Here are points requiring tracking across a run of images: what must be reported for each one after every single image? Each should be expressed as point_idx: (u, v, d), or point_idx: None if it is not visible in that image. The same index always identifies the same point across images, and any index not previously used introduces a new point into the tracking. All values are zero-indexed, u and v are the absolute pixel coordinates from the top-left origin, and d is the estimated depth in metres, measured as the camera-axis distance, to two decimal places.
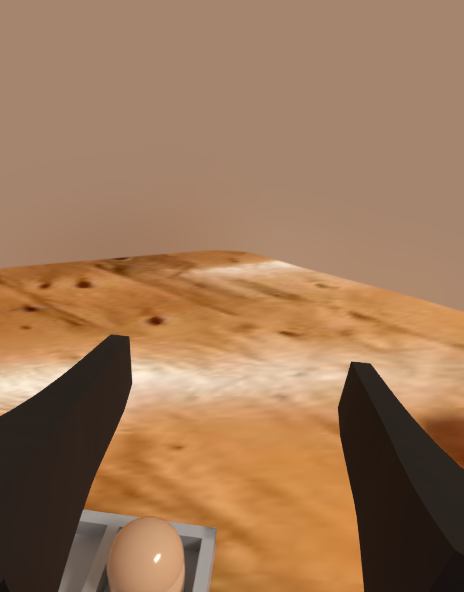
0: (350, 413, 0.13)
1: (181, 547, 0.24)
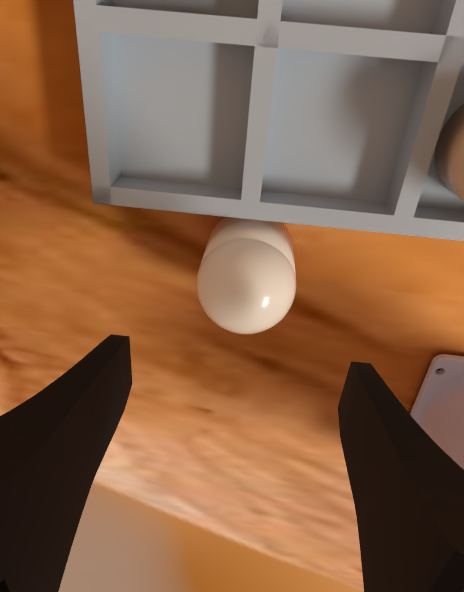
0: (350, 413, 0.13)
1: None
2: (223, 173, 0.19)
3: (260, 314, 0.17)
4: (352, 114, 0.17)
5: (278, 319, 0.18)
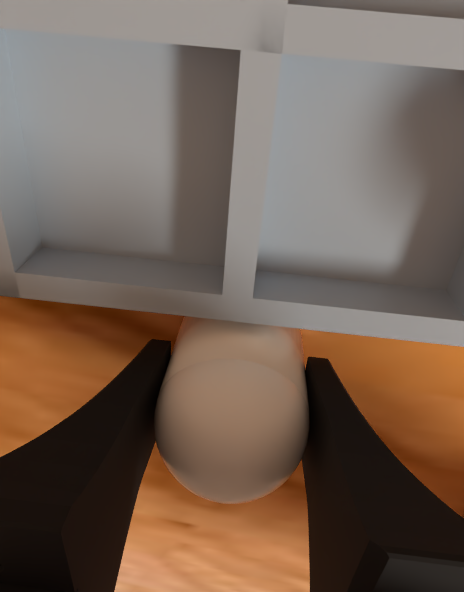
0: None
1: None
2: (196, 245, 0.12)
3: (252, 490, 0.10)
4: (403, 160, 0.11)
5: (281, 484, 0.11)
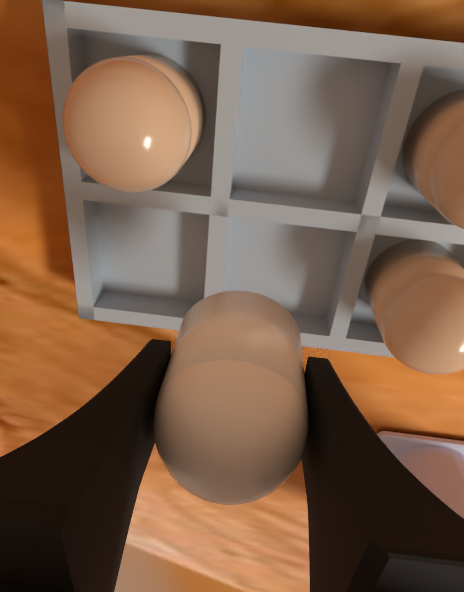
0: None
1: None
2: (189, 292, 0.22)
3: (251, 491, 0.10)
4: (295, 254, 0.21)
5: (280, 485, 0.11)
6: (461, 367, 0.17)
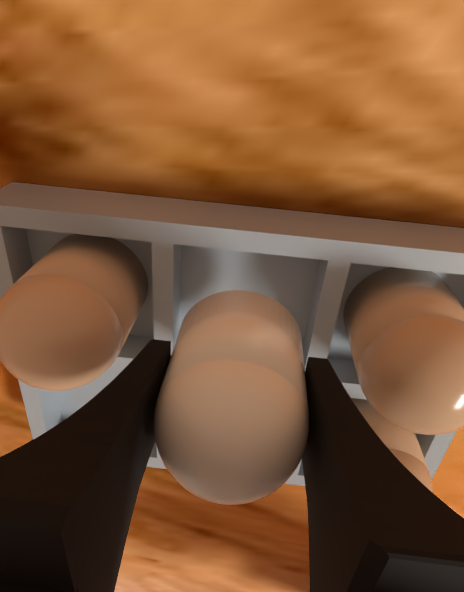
0: None
1: None
2: None
3: (252, 491, 0.10)
4: None
5: (280, 485, 0.11)
6: None
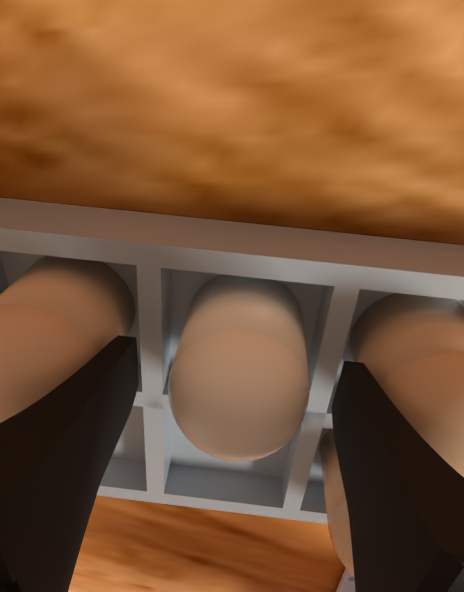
0: (343, 412, 0.13)
1: None
2: (136, 452, 0.21)
3: (258, 447, 0.12)
4: None
5: (283, 445, 0.12)
6: None
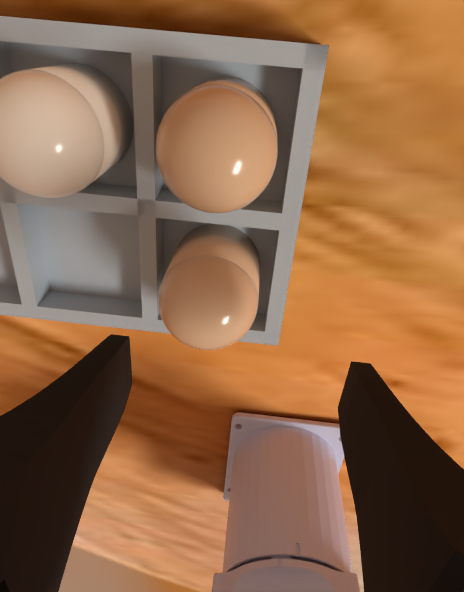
0: (350, 413, 0.13)
1: (273, 145, 0.14)
2: None
3: (37, 157, 0.14)
4: (104, 239, 0.22)
5: (71, 171, 0.15)
6: (218, 342, 0.17)
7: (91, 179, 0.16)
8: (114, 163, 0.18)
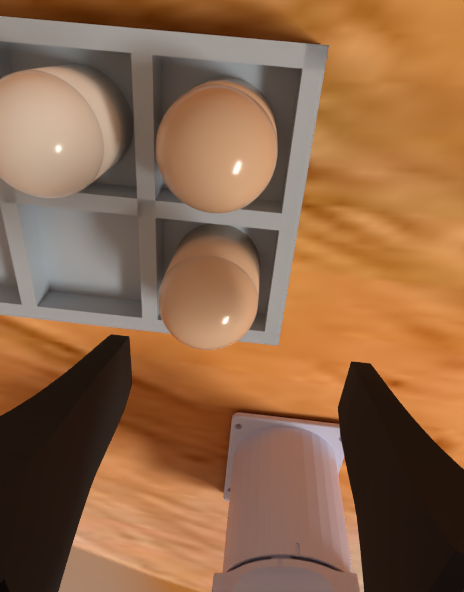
0: (350, 413, 0.13)
1: (273, 146, 0.14)
2: None
3: (37, 158, 0.14)
4: (104, 239, 0.22)
5: (69, 172, 0.15)
6: (218, 342, 0.17)
7: (90, 180, 0.16)
8: (113, 164, 0.18)
